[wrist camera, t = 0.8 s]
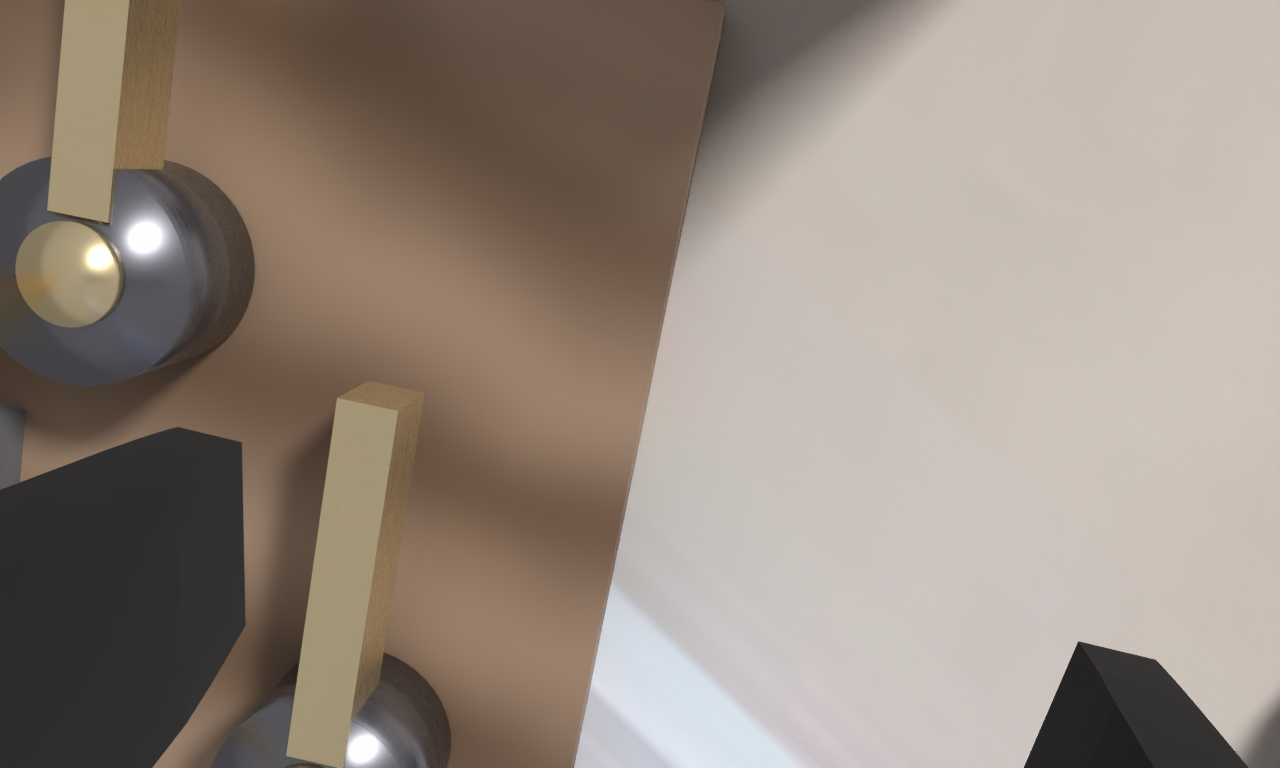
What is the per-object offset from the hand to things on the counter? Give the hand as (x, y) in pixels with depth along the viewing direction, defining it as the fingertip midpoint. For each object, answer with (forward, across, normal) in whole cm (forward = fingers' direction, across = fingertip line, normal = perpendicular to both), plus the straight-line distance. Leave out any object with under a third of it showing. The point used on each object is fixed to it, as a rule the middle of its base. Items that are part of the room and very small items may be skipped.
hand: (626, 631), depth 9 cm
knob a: (+11, +7, +11) cm, 17 cm away
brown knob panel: (+14, +10, +7) cm, 19 cm away
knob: (+14, +13, +1) cm, 19 cm away
